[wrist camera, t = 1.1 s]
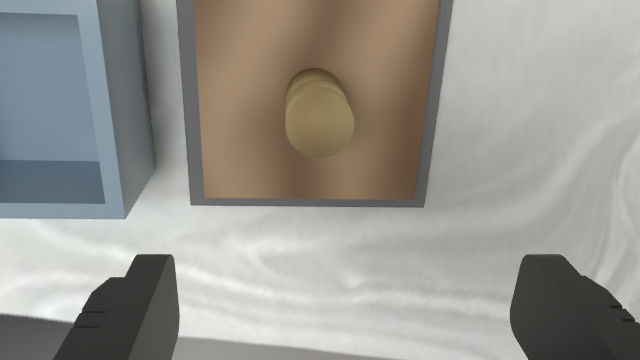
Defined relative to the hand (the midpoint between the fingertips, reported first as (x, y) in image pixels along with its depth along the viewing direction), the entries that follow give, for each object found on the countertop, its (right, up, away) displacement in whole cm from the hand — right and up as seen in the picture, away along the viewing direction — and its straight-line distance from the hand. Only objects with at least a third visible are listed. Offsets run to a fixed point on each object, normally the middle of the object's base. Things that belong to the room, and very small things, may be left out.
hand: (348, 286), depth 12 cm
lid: (-1, +7, +16) cm, 17 cm away
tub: (-15, +8, +15) cm, 23 cm away
